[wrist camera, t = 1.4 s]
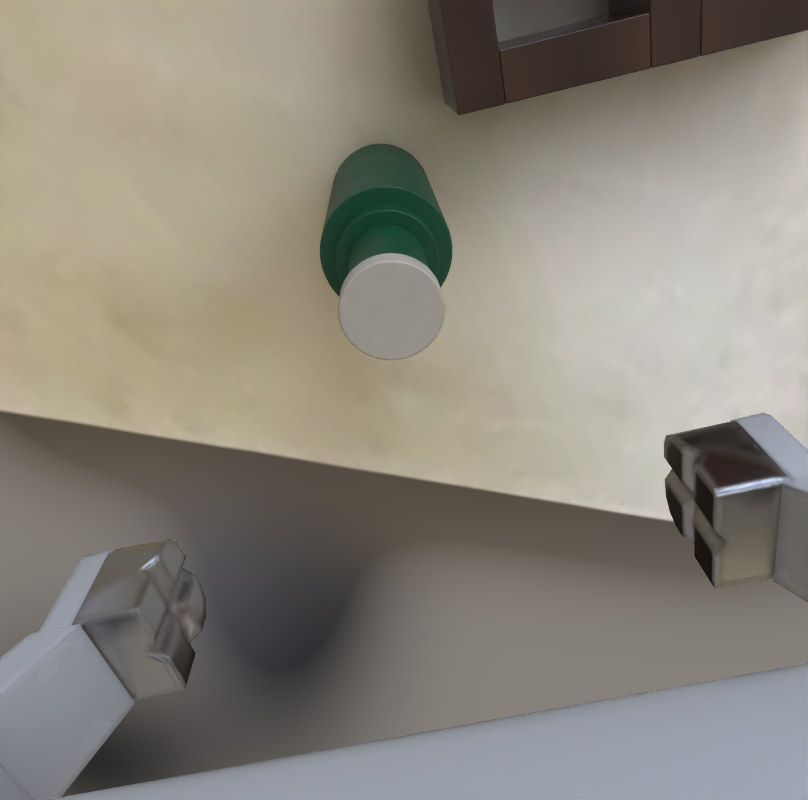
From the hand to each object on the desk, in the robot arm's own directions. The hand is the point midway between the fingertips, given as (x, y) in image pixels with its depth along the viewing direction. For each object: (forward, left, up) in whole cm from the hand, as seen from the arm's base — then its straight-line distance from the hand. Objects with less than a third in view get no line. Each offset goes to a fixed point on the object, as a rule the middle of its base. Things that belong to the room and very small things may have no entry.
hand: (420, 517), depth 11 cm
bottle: (0, 0, -26) cm, 26 cm away
